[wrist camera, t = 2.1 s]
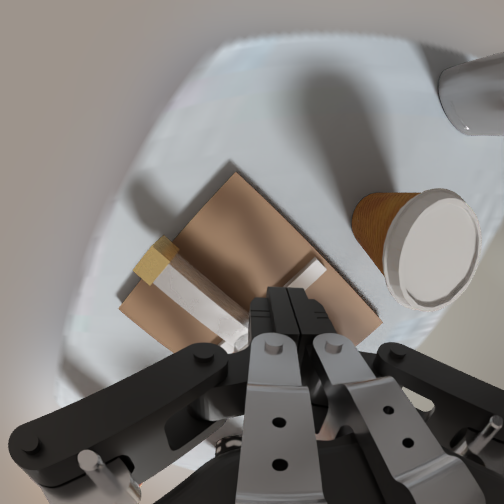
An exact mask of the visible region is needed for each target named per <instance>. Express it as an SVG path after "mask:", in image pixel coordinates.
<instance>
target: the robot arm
mask: <svg viewBox="0 0 504 504" xmlns="http://www.w3.org/2000/svg"><path fill="white" fill-rule="evenodd" d="M439 95H440V100H441V103H442V106H443V108H444V111H445V113H446V115H447V117H448V118H449V120H450V121H451V123H452V124H453V125H454V126H455V127H456V128H457V129H458V130H459V131H460V132H462V133H463V134H466V135H471V136H478V135H488V136H504V52H501V53H497V54H493V55H490V56H486V57H483V58H479V59H476V60H473V61H470V62H466V63H463V64H460V65H457V66H454V67H451V68H448V69H446V70H444V71H443V72H442V74H441V76H440V79H439ZM402 387H405V388H408V389H409V390H411V391H413V392H415V393H417V394H419V395H421V396H423V397H425V398H427V399H430V400H431V401H432V402H433V403H434V405H435V406H434V408H433V409H432V410H430V411H428V412H423V411H421V410H419V409H417V408H415V407H414V406H413V404H412V403H411V402H410V400H409V399H408V397H407V396H406V395H405V393H404V392H403V390H402ZM241 415H244V424H243V434H242V443H241V448H239V449H235V450H232V451H228V452H226V453H223V454H221V455H219V456H217V457H215V458H213V459H211V460H210V461H208V462H206V463H205V464H204V465H202V466H201V467H200V468H199V469H198V470H196V471H195V472H194V473H193V474H191V475H190V476H189V477H188V478H187V479H185V480H184V481H183V482H182V483H180V484H179V485H178V486H176V487H175V488H174V489H172V490H171V491H170V492H168V493H167V494H166V495H164V496H163V497H162V498H161V499H159V500H158V501H156V502H155V503H153V504H504V390H502V389H499V388H497V387H495V386H493V385H491V384H488V383H485V382H484V381H481V380H479V379H477V378H475V377H472V376H470V375H468V374H466V373H463V372H461V371H459V370H457V369H454V368H452V367H450V366H448V365H446V364H444V363H441V362H439V361H437V360H435V359H433V358H431V357H428V356H426V355H424V354H422V353H420V352H418V351H415V350H413V349H411V348H409V347H407V346H405V345H402V344H399V343H394V342H388V343H384V344H382V345H381V346H380V347H379V349H378V351H377V354H374V353H367V352H361V351H358V350H357V348H356V347H355V345H354V344H353V343H352V341H351V340H350V339H348V338H347V337H345V336H342V335H339V334H337V332H336V330H335V328H334V326H333V324H332V322H331V320H330V319H329V317H328V315H327V313H326V311H325V309H324V307H323V305H322V304H320V303H319V302H318V301H316V300H315V299H308V297H307V295H306V293H305V290H304V288H294V287H286V288H285V287H269V286H268V287H267V293H266V298H260V297H255V298H254V299H253V300H252V301H251V303H250V311H249V325H248V347H247V348H245V349H244V350H242V351H239V352H236V353H231V354H227V352H226V350H225V349H223V348H222V347H221V346H218V345H216V344H213V343H206V342H201V343H194V344H191V345H189V346H187V347H185V348H183V349H181V350H179V351H178V352H176V353H174V354H172V355H170V356H168V357H166V358H164V359H162V360H161V361H159V362H157V363H155V364H153V365H151V366H149V367H147V368H145V369H143V370H141V371H139V372H137V373H135V374H133V375H131V376H129V377H127V378H125V379H123V380H121V381H119V382H117V383H115V384H113V385H111V386H109V387H107V388H105V389H103V390H101V391H98V392H96V393H94V394H92V395H90V396H88V397H86V398H83V399H81V400H79V401H77V402H75V403H72V404H70V405H68V406H66V407H63V408H61V409H59V410H56V411H54V412H52V413H49V414H47V415H45V416H42V417H40V418H37V419H35V420H32V421H30V422H27V423H25V424H23V425H20V426H19V427H17V428H16V429H15V430H14V431H13V433H12V434H11V436H10V438H9V443H8V448H9V453H10V455H11V457H12V459H13V460H14V461H15V463H16V464H17V465H18V466H19V467H20V468H21V469H23V470H24V471H25V472H26V473H27V474H28V475H29V477H30V478H31V479H32V480H33V481H34V482H35V483H36V484H37V485H38V486H39V487H40V488H41V489H42V491H43V492H44V494H45V496H46V498H47V500H48V501H49V503H50V504H139V502H140V500H141V490H140V487H139V485H140V484H141V483H143V482H144V481H146V480H147V479H149V478H150V477H152V476H154V475H155V474H157V473H158V472H160V471H161V470H163V469H164V468H166V467H167V466H169V465H170V464H172V463H173V462H175V461H176V460H177V459H179V458H180V457H182V456H183V455H184V454H186V453H187V452H189V451H190V450H191V449H193V448H194V447H195V446H197V445H198V444H199V443H201V442H202V441H203V440H205V439H206V438H207V437H208V436H210V435H211V434H212V433H213V432H215V431H216V430H217V429H218V428H220V427H221V426H222V425H223V424H224V423H225V422H226V420H227V418H231V417H236V416H241Z"/></svg>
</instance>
